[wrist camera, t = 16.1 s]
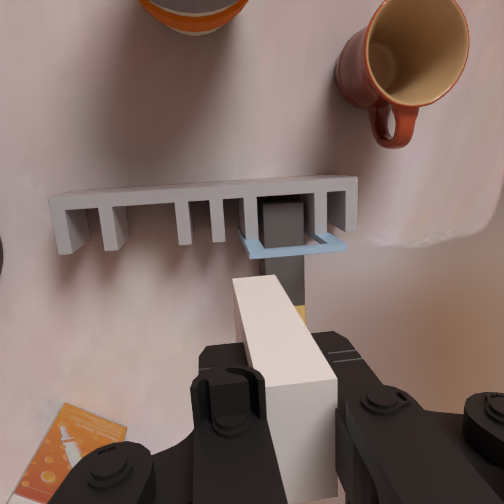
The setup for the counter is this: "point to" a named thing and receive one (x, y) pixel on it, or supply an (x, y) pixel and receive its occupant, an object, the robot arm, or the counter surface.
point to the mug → (403, 63)
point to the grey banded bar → (283, 235)
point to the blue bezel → (326, 246)
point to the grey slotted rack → (116, 199)
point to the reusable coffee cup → (193, 14)
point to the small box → (63, 452)
